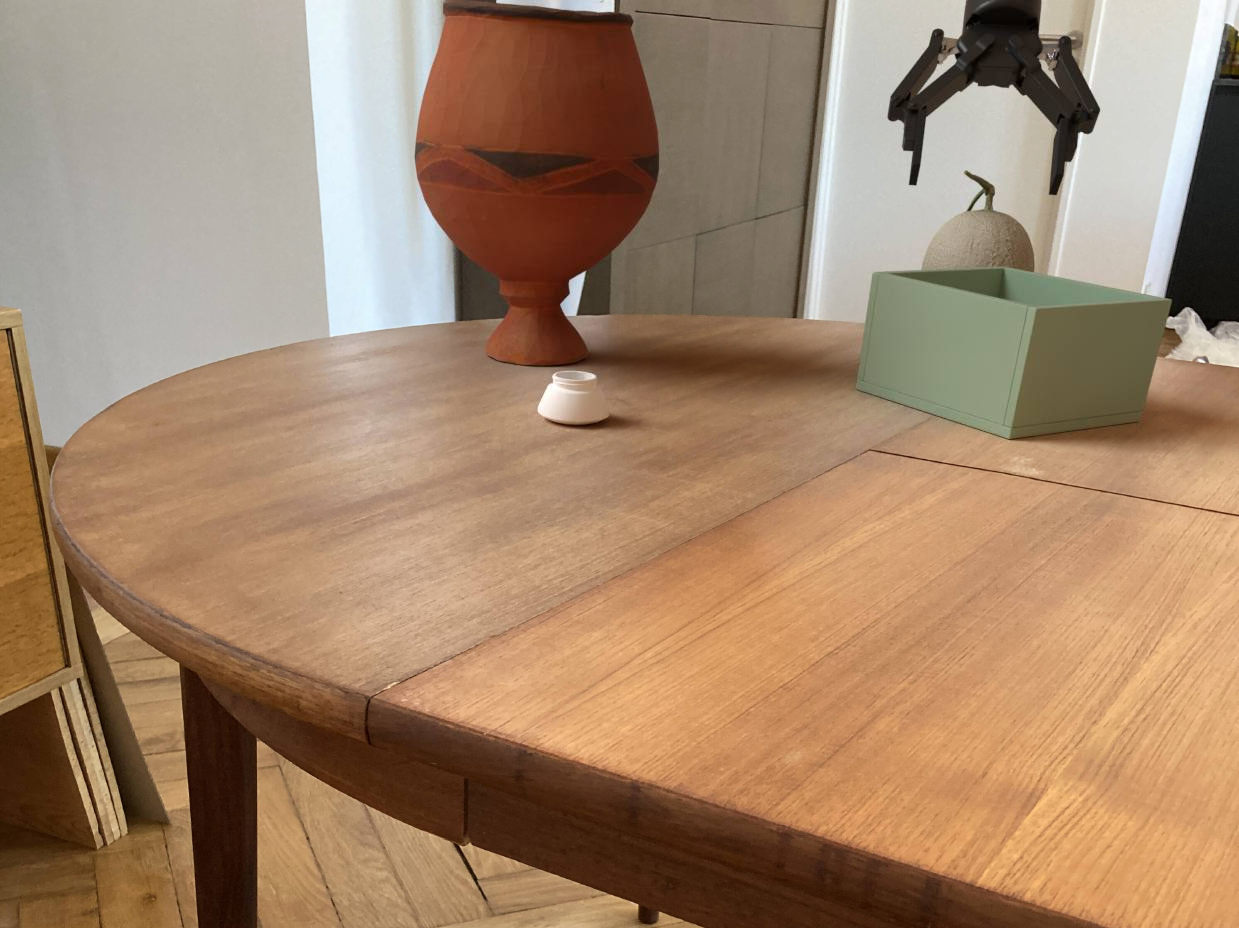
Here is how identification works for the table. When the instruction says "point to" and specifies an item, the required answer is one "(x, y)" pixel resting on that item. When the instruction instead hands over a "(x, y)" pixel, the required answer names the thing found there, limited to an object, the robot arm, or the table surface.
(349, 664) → the table surface
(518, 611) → the table surface
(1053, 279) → the bin
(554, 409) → the white jar
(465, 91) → the goblet
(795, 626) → the table surface
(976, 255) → the fruit
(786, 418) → the table surface
